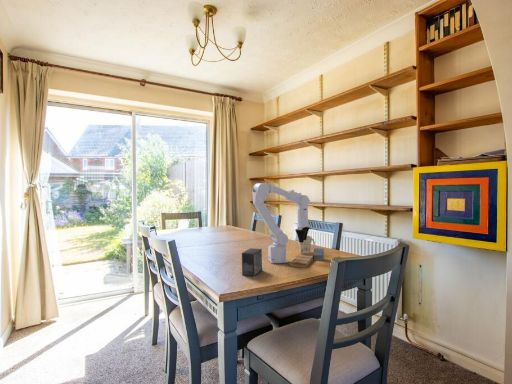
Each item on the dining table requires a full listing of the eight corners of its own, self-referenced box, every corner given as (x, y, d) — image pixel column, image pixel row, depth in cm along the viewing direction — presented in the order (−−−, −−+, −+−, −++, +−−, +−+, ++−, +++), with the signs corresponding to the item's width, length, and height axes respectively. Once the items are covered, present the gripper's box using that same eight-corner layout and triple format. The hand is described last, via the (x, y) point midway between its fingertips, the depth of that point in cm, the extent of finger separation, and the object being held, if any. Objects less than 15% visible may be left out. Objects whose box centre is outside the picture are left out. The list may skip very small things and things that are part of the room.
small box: (250, 269, 141) (249, 247, 141) (262, 270, 139) (262, 248, 138) (241, 275, 131) (241, 252, 131) (254, 276, 129) (254, 253, 129)
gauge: (323, 260, 156) (323, 249, 156) (300, 258, 160) (300, 248, 160) (323, 258, 159) (323, 248, 159) (301, 257, 164) (301, 246, 164)
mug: (295, 252, 174) (294, 236, 174) (309, 250, 182) (309, 234, 182) (305, 255, 168) (305, 238, 168) (319, 252, 175) (319, 236, 175)
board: (306, 267, 142) (306, 263, 142) (290, 266, 145) (290, 262, 145) (315, 256, 164) (315, 253, 164) (301, 255, 167) (301, 252, 167)
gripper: (307, 218, 151) (307, 244, 151) (312, 215, 164) (312, 239, 165) (293, 217, 154) (294, 243, 154) (300, 215, 167) (300, 238, 167)
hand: (302, 241), depth 159 cm, fingers open, 7 cm apart
